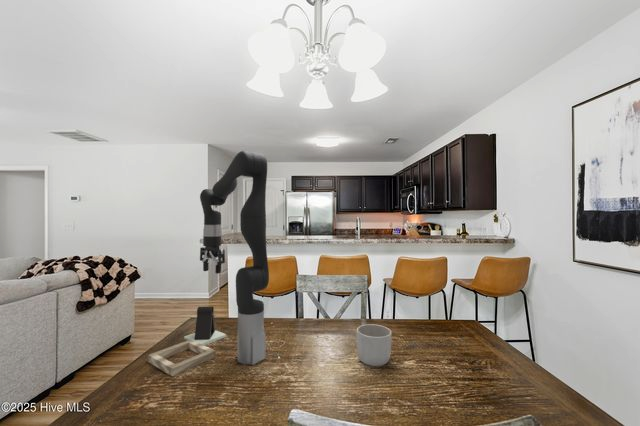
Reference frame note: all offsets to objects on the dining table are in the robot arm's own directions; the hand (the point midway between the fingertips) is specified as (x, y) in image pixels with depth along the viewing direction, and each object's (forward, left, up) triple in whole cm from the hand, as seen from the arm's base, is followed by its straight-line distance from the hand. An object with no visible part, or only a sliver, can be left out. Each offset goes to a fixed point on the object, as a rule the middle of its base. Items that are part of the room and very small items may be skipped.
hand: (211, 272), depth 130 cm
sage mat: (-2, +4, -27) cm, 27 cm away
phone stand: (-2, +4, -26) cm, 26 cm away
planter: (-68, -20, -27) cm, 76 cm away
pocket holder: (-12, +20, -27) cm, 36 cm away
